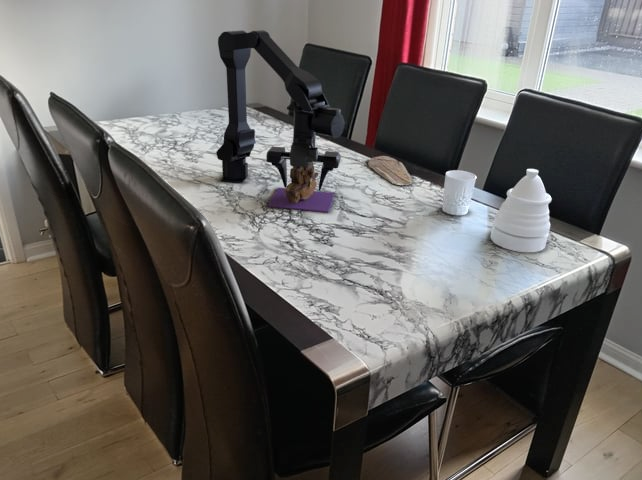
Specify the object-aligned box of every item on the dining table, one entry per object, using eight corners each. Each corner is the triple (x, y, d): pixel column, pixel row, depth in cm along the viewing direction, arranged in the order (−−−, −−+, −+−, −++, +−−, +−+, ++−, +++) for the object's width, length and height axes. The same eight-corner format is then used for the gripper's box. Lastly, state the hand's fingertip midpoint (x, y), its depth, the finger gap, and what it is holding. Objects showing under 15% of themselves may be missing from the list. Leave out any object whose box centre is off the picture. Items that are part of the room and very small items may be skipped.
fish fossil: (424, 184, 172) (424, 180, 172) (393, 188, 170) (393, 185, 169) (389, 157, 193) (389, 153, 192) (360, 160, 190) (361, 157, 190)
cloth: (267, 206, 150) (267, 205, 150) (278, 189, 162) (278, 187, 162) (328, 212, 149) (328, 211, 149) (334, 194, 161) (334, 192, 161)
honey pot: (538, 257, 131) (557, 181, 123) (483, 242, 137) (498, 169, 128) (550, 238, 141) (570, 167, 132) (499, 225, 147) (514, 156, 138)
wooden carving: (300, 210, 148) (301, 172, 143) (283, 207, 149) (284, 170, 144) (320, 190, 162) (322, 155, 157) (305, 188, 163) (306, 153, 158)
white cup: (471, 208, 157) (477, 172, 152) (467, 218, 150) (474, 181, 145) (442, 203, 159) (447, 168, 154) (437, 213, 152) (443, 177, 147)
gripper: (261, 135, 140) (261, 195, 148) (337, 141, 138) (333, 202, 146) (271, 124, 150) (270, 181, 158) (342, 130, 148) (338, 188, 156)
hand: (302, 188), depth 154 cm, fingers open, 9 cm apart
